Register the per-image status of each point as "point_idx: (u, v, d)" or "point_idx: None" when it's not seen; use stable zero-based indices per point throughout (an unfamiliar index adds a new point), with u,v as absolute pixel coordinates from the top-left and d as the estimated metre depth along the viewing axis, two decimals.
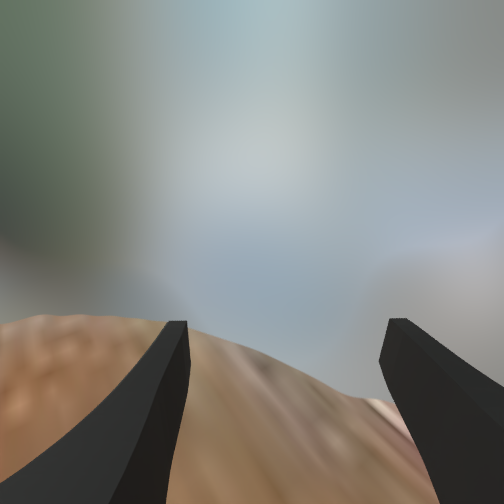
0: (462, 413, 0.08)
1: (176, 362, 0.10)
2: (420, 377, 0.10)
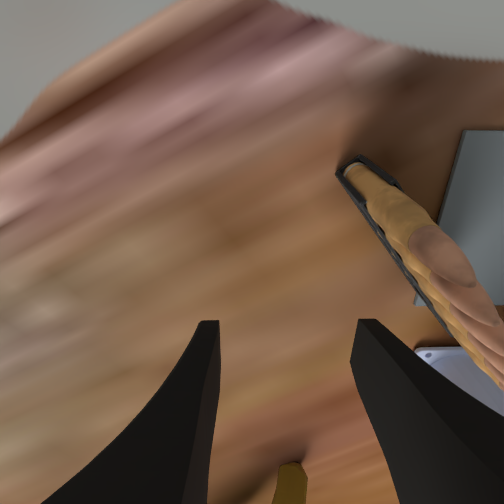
0: (418, 414, 0.08)
1: (213, 362, 0.10)
2: (383, 378, 0.10)
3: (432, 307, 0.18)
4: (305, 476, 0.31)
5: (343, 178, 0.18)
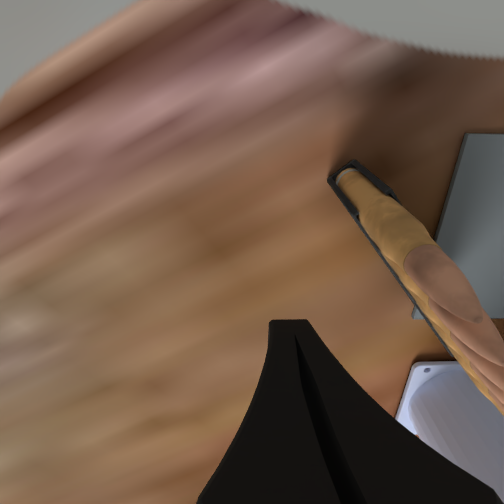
0: (319, 416, 0.08)
1: None
2: (302, 379, 0.10)
3: (431, 325, 0.17)
4: None
5: (335, 185, 0.17)
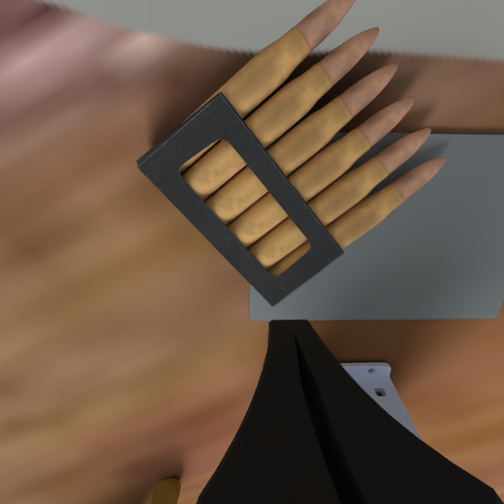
0: (319, 416, 0.08)
1: None
2: (302, 379, 0.10)
3: (317, 217, 0.17)
4: (176, 493, 0.29)
5: None
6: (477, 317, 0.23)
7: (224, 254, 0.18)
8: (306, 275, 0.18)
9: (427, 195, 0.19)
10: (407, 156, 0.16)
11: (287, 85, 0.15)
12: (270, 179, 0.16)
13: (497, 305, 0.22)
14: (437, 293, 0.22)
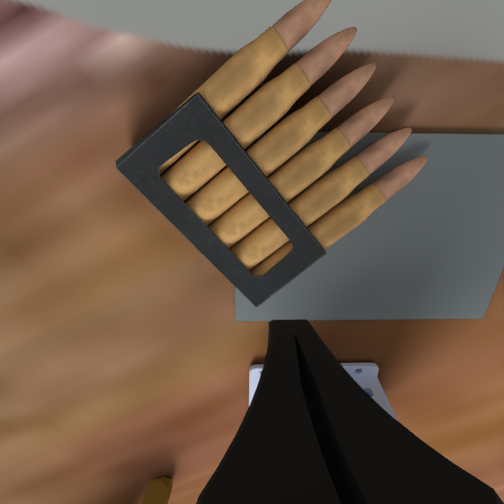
0: (319, 416, 0.08)
1: None
2: (302, 379, 0.10)
3: (298, 217, 0.17)
4: (168, 492, 0.29)
5: (138, 142, 0.15)
6: (464, 317, 0.23)
7: (206, 254, 0.18)
8: (289, 275, 0.18)
9: (410, 195, 0.19)
10: (388, 156, 0.16)
11: (265, 85, 0.15)
12: (250, 179, 0.16)
13: (484, 305, 0.22)
14: (423, 293, 0.22)
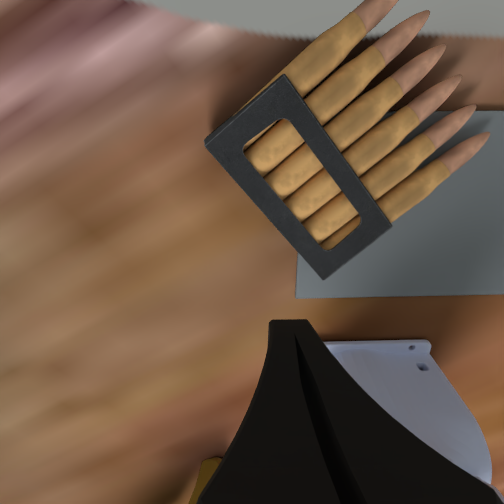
0: (319, 416, 0.08)
1: None
2: (302, 379, 0.10)
3: (368, 192, 0.18)
4: None
5: (225, 122, 0.16)
6: None
7: (280, 229, 0.19)
8: (356, 249, 0.20)
9: (470, 171, 0.20)
10: (454, 131, 0.17)
11: (343, 66, 0.16)
12: (326, 155, 0.17)
13: None
14: (477, 268, 0.23)
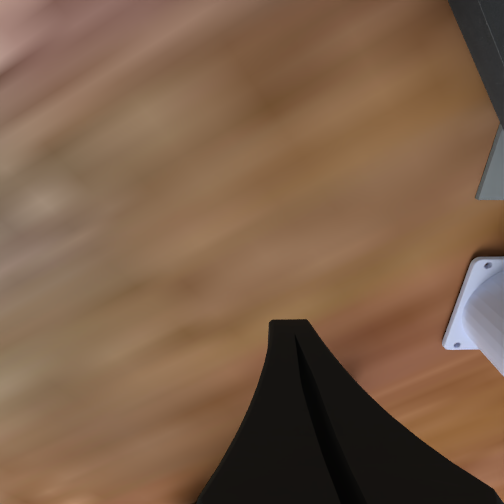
0: (319, 416, 0.08)
1: None
2: (302, 379, 0.10)
3: None
4: None
5: None
6: None
7: None
8: None
9: None
10: None
11: None
12: None
13: None
14: None
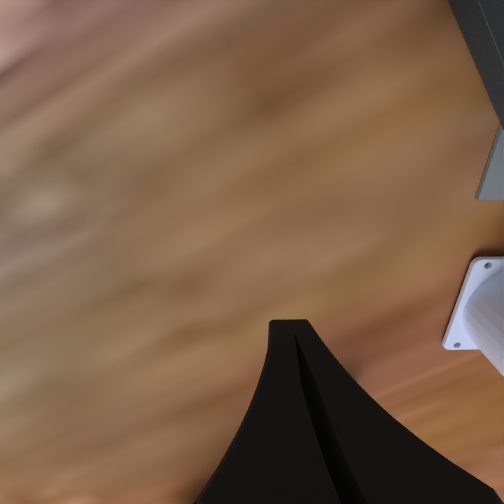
0: (319, 416, 0.08)
1: None
2: (302, 379, 0.10)
3: None
4: None
5: None
6: None
7: None
8: None
9: None
10: None
11: None
12: None
13: None
14: None
